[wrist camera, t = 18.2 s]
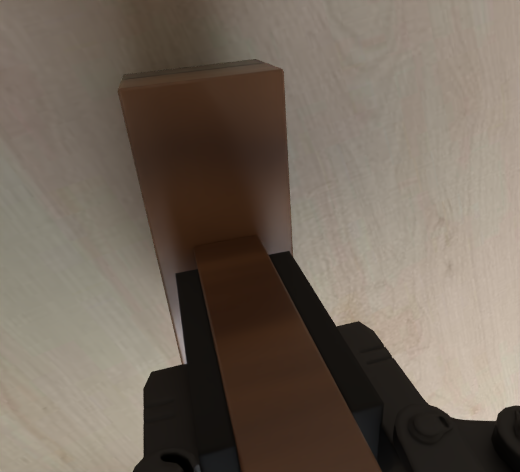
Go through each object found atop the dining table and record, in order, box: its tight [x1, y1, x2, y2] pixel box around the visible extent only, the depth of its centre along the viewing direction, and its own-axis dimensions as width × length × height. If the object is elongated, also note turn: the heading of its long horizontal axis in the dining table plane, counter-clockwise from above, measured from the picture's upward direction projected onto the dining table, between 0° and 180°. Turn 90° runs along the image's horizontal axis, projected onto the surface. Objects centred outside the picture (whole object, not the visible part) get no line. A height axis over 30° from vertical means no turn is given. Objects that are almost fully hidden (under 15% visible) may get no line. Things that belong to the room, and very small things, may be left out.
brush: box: [118, 59, 382, 472], centre depth 13 cm, size 14×5×14 cm, turn 4°
